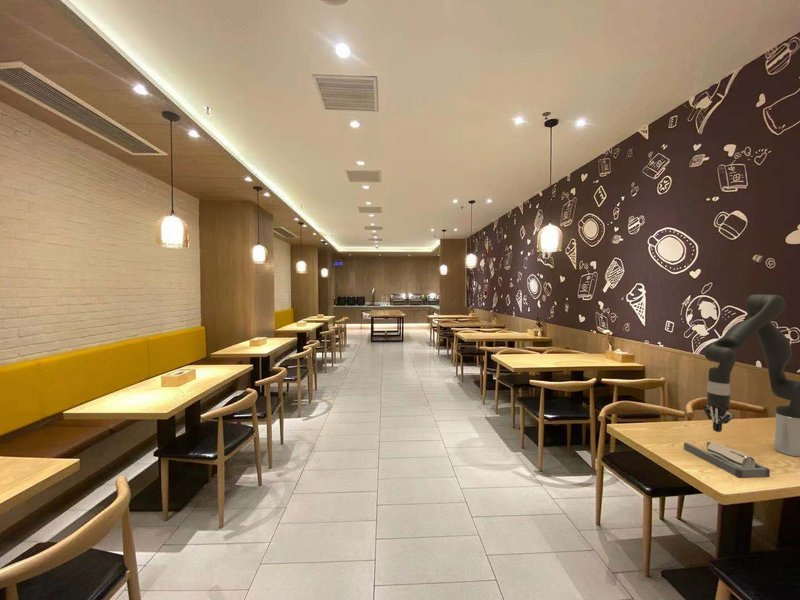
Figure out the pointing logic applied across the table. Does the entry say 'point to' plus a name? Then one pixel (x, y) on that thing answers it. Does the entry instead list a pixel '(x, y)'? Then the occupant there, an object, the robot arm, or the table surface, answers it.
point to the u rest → (739, 472)
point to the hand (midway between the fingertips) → (717, 431)
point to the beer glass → (731, 456)
